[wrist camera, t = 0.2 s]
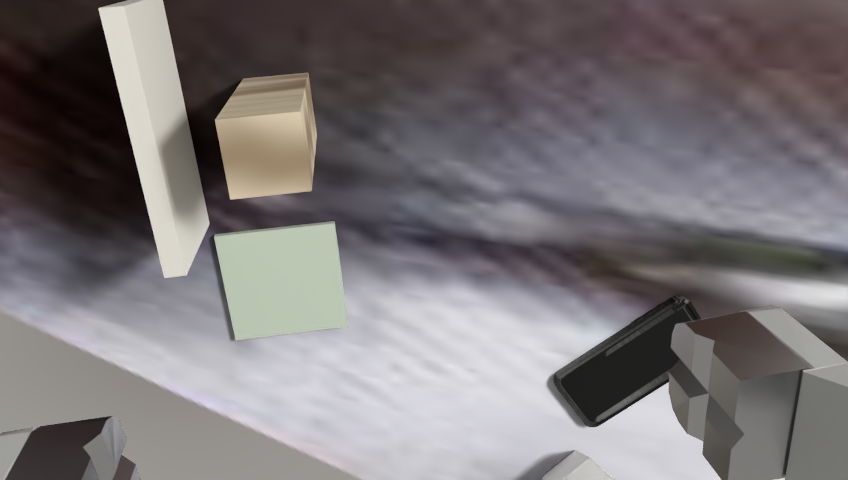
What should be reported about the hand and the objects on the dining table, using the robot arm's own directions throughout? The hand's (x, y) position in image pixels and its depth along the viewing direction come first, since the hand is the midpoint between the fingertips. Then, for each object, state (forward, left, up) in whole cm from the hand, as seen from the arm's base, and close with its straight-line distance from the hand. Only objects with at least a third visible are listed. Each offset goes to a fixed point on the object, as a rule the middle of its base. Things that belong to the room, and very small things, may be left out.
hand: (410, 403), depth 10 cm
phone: (+33, +24, -48) cm, 63 cm away
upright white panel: (+5, -14, -47) cm, 50 cm away
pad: (+20, -8, -47) cm, 52 cm away
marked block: (+5, -6, -47) cm, 48 cm away
